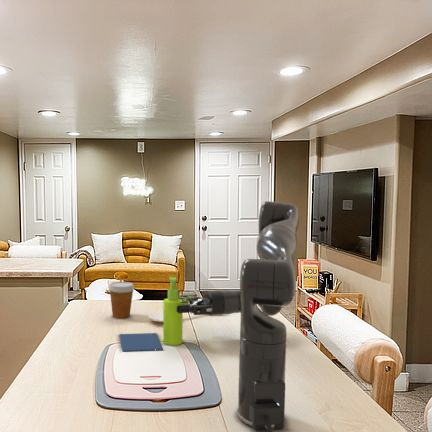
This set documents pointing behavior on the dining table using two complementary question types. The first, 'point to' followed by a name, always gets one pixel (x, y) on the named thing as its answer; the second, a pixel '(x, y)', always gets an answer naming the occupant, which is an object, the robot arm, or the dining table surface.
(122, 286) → the disposable coffee cup
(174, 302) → the soap dispenser
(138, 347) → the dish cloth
